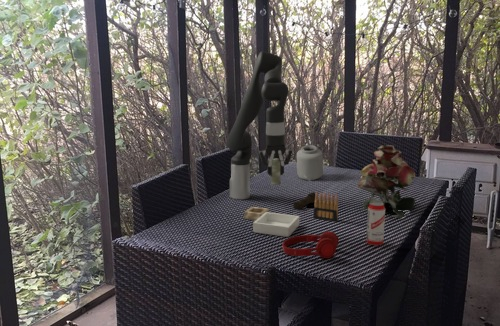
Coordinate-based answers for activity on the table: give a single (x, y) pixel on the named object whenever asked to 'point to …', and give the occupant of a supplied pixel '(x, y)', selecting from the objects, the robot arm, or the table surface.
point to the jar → (309, 163)
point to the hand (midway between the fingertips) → (275, 174)
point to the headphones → (323, 247)
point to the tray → (276, 224)
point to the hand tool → (304, 201)
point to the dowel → (275, 172)
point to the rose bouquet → (388, 180)
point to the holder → (254, 213)
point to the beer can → (375, 223)
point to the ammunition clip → (326, 208)
